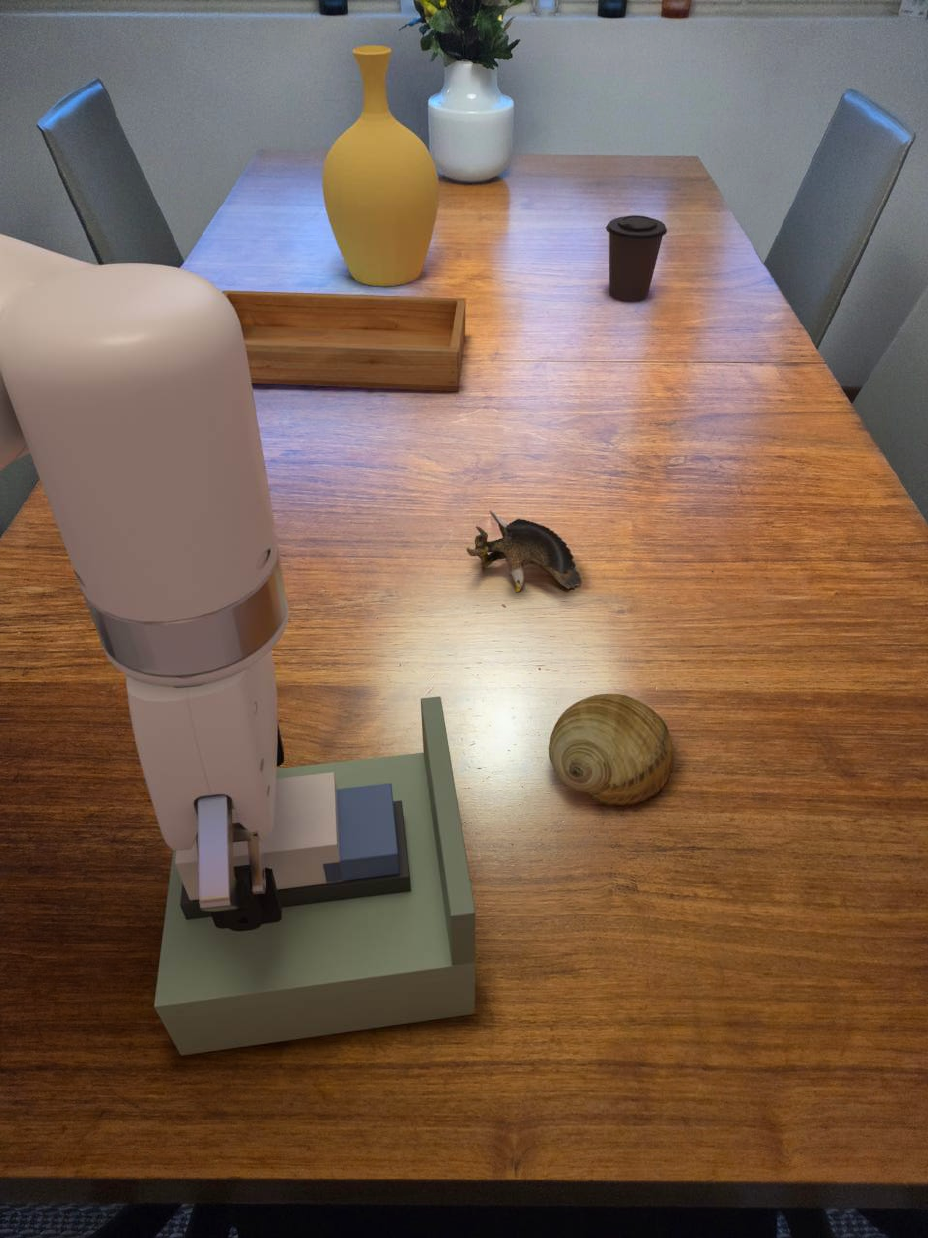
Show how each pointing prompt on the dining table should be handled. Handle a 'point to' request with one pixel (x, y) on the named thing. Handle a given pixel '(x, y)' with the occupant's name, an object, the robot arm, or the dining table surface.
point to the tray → (352, 339)
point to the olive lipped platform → (337, 932)
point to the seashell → (612, 749)
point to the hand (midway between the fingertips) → (253, 836)
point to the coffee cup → (633, 255)
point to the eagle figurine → (527, 551)
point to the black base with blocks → (321, 845)
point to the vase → (380, 187)
